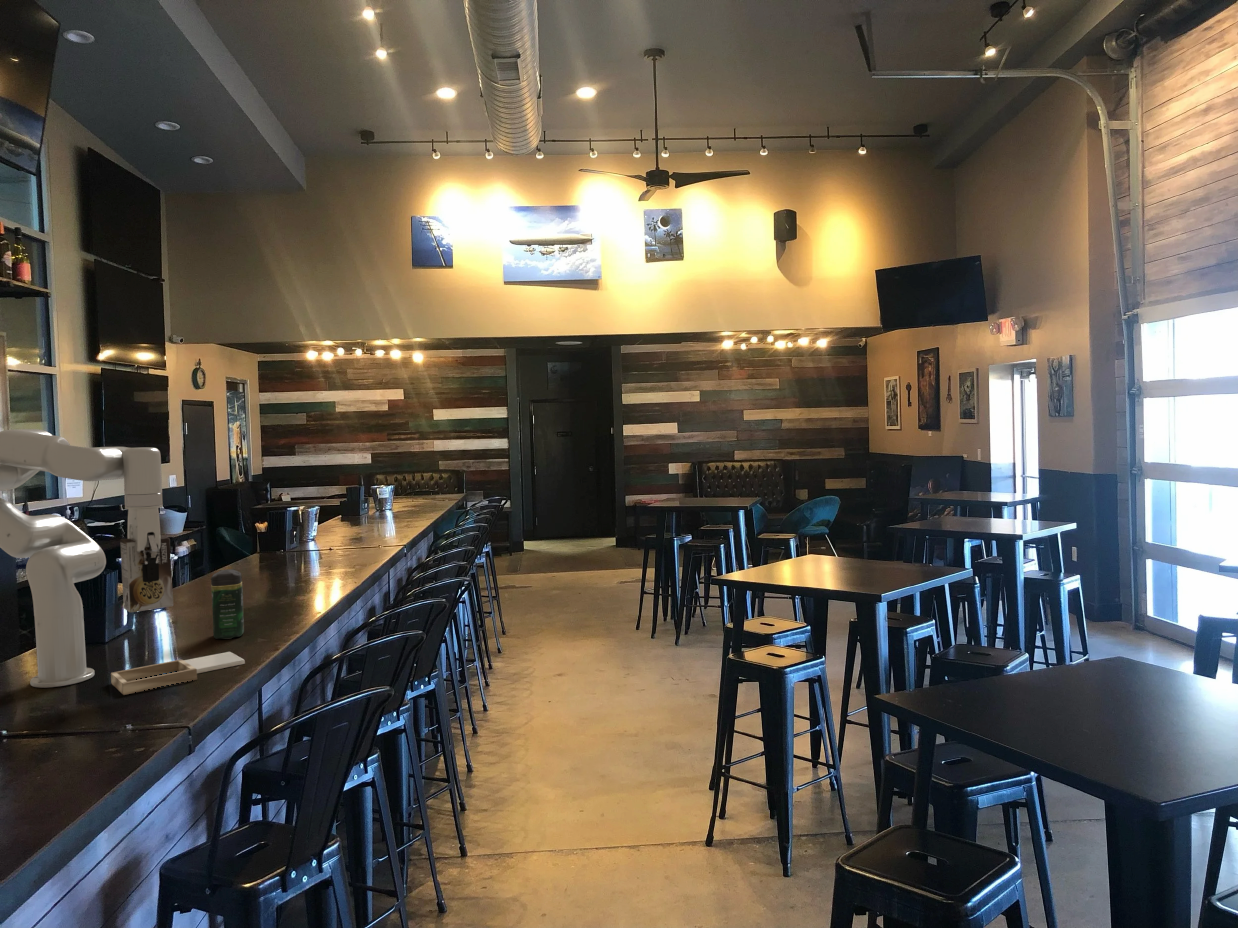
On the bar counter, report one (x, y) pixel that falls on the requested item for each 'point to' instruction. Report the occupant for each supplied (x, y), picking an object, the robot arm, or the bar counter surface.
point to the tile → (215, 662)
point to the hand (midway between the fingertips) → (146, 578)
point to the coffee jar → (227, 604)
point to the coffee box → (134, 588)
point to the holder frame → (125, 687)
